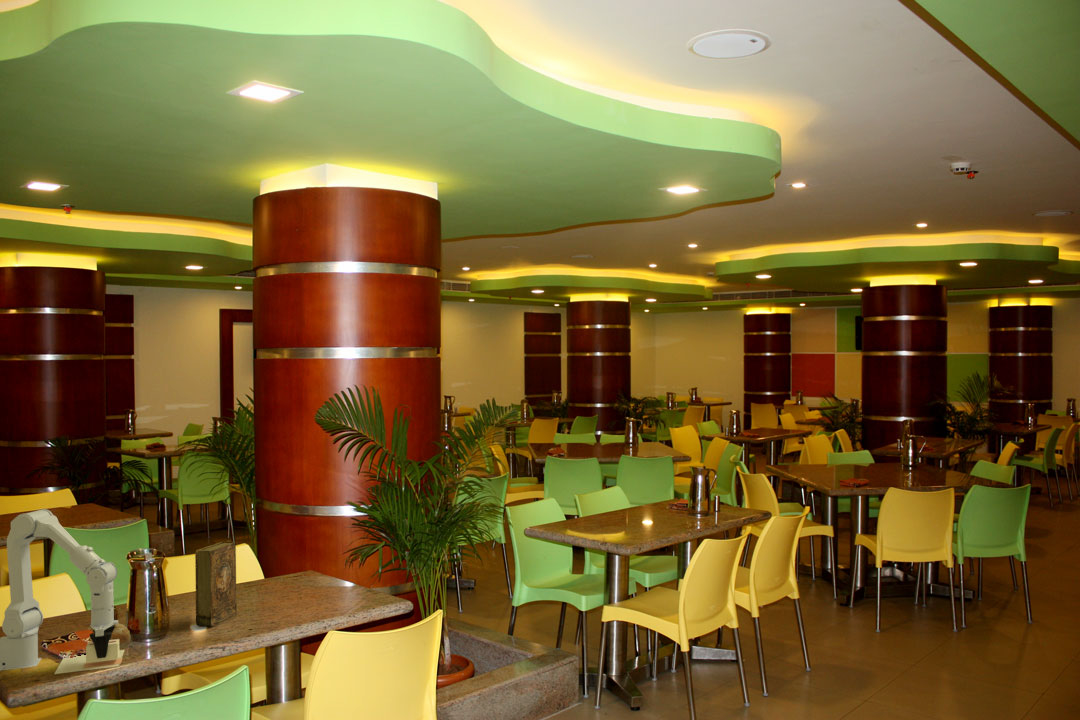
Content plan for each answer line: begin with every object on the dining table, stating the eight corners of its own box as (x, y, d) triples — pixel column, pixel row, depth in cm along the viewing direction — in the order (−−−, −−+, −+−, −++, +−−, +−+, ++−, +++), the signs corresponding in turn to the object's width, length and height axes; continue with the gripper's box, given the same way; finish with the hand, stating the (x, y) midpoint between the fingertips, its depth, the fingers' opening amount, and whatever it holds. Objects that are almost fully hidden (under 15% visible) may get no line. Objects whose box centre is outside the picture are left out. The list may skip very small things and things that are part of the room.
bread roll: (130, 656, 263) (141, 629, 265) (98, 649, 256) (110, 622, 259) (116, 650, 269) (127, 624, 272) (85, 643, 262) (97, 616, 265)
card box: (117, 659, 242) (117, 643, 242) (86, 663, 239) (85, 646, 240) (119, 654, 246) (119, 638, 247) (88, 658, 244) (88, 642, 244)
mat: (54, 676, 235) (54, 673, 235) (64, 658, 250) (64, 656, 250) (120, 667, 240) (120, 665, 240) (125, 651, 255) (125, 649, 255)
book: (224, 613, 295) (223, 541, 296) (238, 614, 294) (237, 541, 295) (196, 627, 279) (195, 550, 280) (211, 628, 278) (210, 551, 279)
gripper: (115, 611, 238) (115, 660, 238) (120, 599, 251) (121, 646, 251) (86, 614, 235) (87, 664, 235) (93, 602, 249) (94, 649, 249)
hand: (102, 655), depth 243 cm, fingers closed on card box, 4 cm apart
